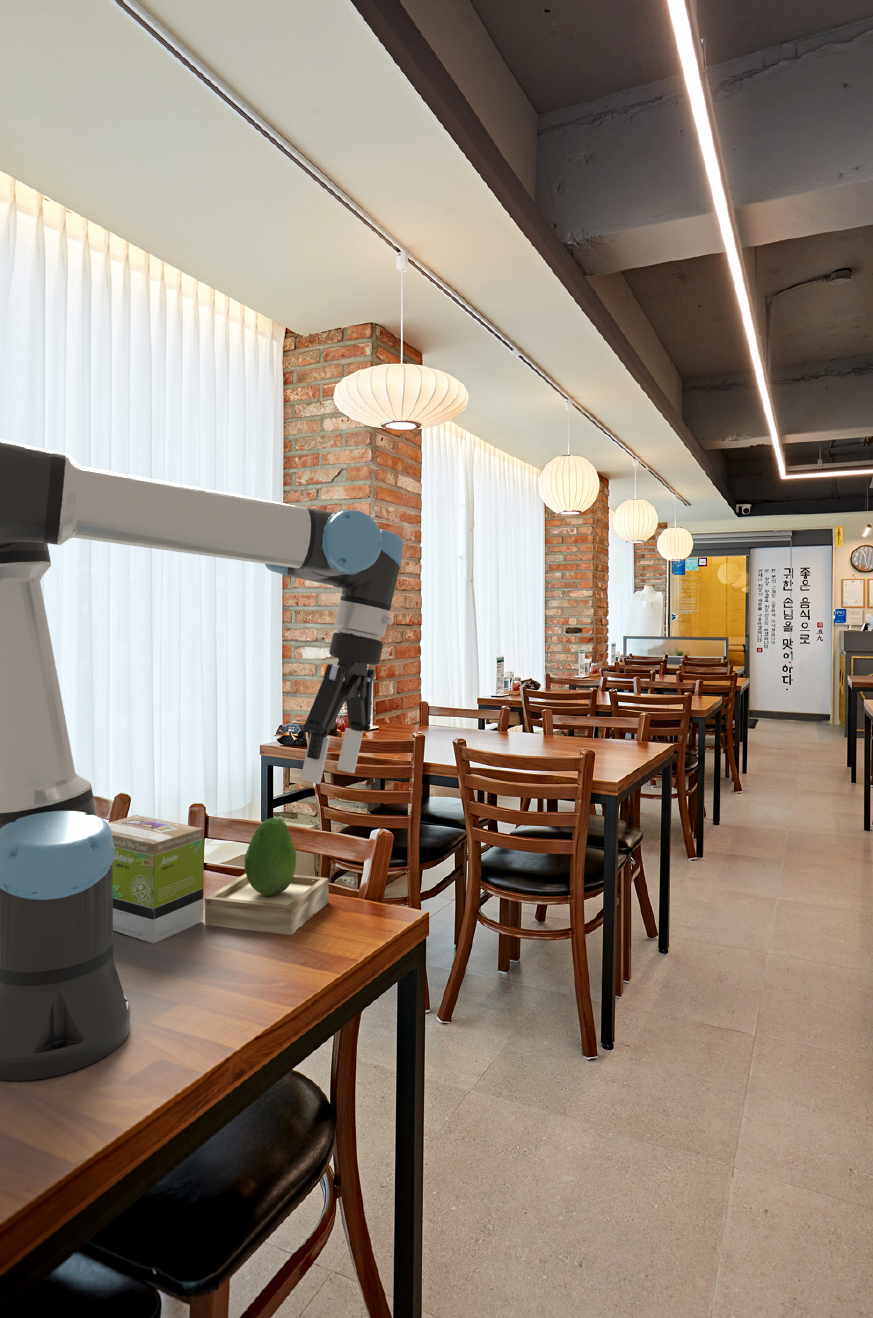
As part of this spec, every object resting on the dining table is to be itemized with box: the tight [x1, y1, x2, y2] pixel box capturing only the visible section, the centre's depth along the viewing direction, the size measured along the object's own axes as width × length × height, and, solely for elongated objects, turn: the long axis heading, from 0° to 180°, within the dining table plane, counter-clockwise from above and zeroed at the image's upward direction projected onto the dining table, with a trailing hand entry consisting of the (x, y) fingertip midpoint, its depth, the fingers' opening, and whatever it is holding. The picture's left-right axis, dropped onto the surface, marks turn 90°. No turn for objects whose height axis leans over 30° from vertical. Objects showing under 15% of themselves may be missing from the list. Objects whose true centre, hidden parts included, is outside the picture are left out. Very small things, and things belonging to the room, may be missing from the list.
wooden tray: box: [204, 872, 330, 936], centre depth 119 cm, size 14×14×4 cm
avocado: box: [243, 817, 297, 896], centre depth 119 cm, size 8×8×12 cm
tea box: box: [106, 814, 205, 945], centre depth 114 cm, size 15×10×15 cm
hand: (329, 776), depth 112 cm, fingers open, 13 cm apart
